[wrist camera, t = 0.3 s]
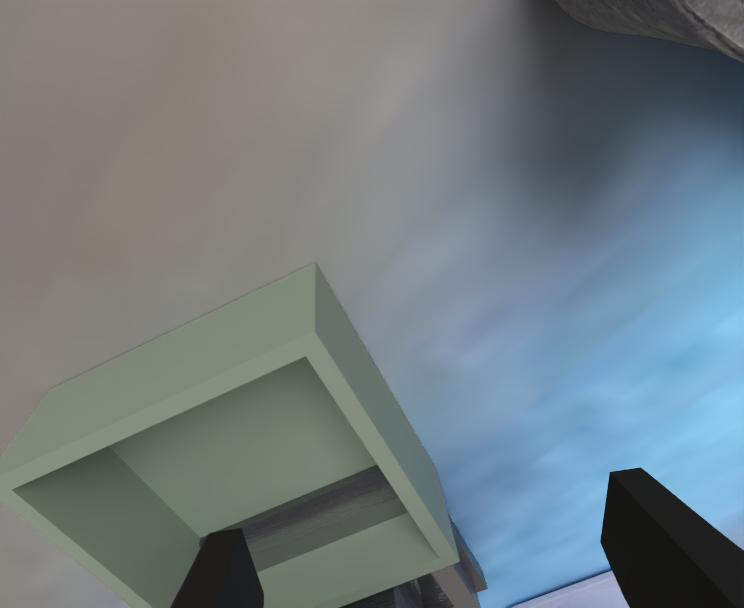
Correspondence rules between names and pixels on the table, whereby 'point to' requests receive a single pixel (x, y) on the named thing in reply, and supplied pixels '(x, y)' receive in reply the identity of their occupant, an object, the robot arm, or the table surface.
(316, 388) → the bin
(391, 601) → the grey plug block
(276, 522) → the socket block
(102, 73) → the table surface
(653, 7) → the pipe
